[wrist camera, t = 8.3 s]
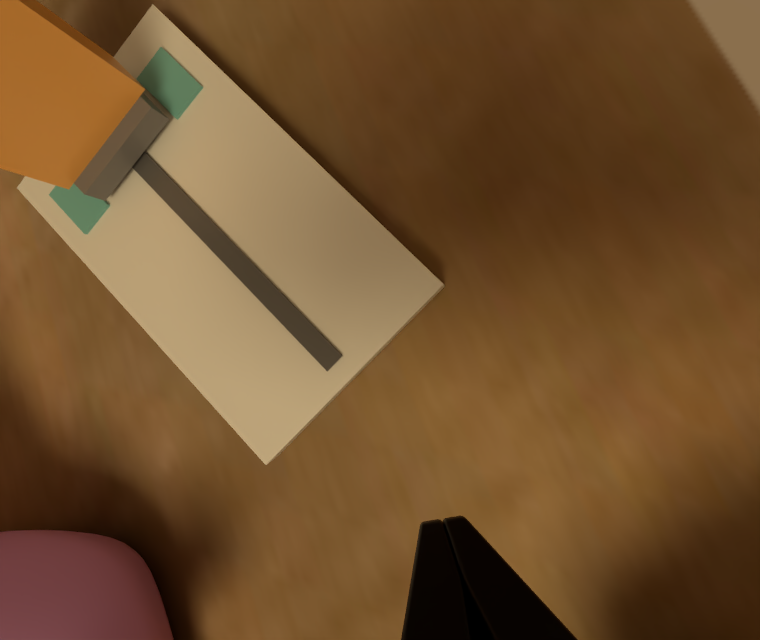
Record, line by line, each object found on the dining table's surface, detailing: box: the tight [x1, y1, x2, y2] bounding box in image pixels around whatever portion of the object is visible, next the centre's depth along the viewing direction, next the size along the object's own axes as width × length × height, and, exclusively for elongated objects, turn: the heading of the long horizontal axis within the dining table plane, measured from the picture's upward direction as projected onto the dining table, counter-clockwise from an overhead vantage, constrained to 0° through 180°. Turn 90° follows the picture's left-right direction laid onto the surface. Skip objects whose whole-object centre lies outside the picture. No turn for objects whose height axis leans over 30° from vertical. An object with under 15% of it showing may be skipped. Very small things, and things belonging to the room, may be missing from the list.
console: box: [17, 4, 445, 465], centre depth 21 cm, size 20×12×2 cm, turn 46°
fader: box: [0, 0, 169, 201], centre depth 16 cm, size 4×6×10 cm, turn 136°
